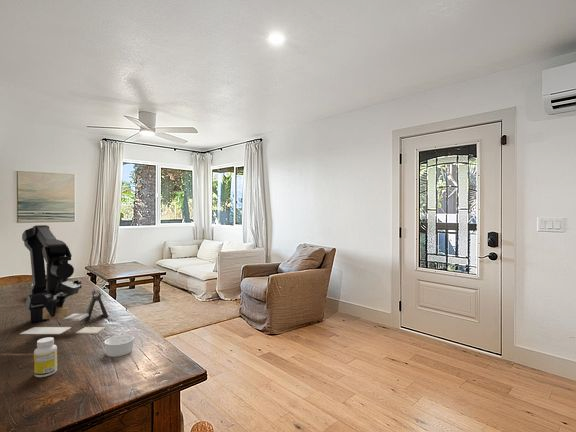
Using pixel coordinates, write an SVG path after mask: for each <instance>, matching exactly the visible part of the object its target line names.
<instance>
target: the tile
mask: <svg viewBox="0 0 576 432" xmlns="http://www.w3.org/2000/svg"><path fill="white" fill-rule="evenodd" d="M105 329H106V326H85V327H83V328H81V329H80V330H78V331H75V334H81V335H82V334H83V335H84V334H86V335H87V334H89V335H90V334H91V335H97V334H99V333H100V332H101V331H103V330H105Z"/></svg>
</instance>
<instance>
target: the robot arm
mask: <svg viewBox="0 0 576 432" xmlns="http://www.w3.org/2000/svg"><path fill="white" fill-rule="evenodd" d="M21 240H22V242H23V245H24V247H25V248H26V249H27V250H28V251H29V255H30V265H31V266H30V267H31V268H30V269H31V278H32V284H33V286H32V285H31V287H30V288H29V290H28V296H27V298H26V300H25V309H26V310H28V311H29V320H28V321H29V324H30V325H31V324H37V323H42V322H43V323H45V322H49V321H50V319H43V308H46V309H47V311H48V312H49V314H50V315H51V317H54V316H55V311H56V307H64V303H65V301H66V299H68V298H69V297H71V296H73V295H76V294H78V293H79V292H80V291H79V290H81V289H83V288H82V280H81V279H76V280H74V281H69V278H71V277H72V276H73V274H74V272H75V268H74V266H73V265H72V264H71V263H69V261H72V256H73V255H72V253H71V250H70V248H69V246H68V245H67V243H66V242H64V241H63V240H61V239H60V240H59V239H57V238H56V235H54V233H52V231H51V229H50V225H47V224H46V225H45V224H44V225H43V224H42V225H41V224H40V225H39V224H38V225H33V226H32V227H30V228H28V229H25V230H24V231H23V233H22V235H21ZM45 263H46V264H45ZM45 266H46V267H45Z"/></svg>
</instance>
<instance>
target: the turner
mask: <svg viewBox="0 0 576 432" xmlns="http://www.w3.org/2000/svg"><path fill="white" fill-rule="evenodd" d="M71 310H72V309H71V306H62V307H56V311H55V316H54V317H51V315H50V314H49V312H48V311H47V309H46V308H43V319H49V320H63V321H66V322H67V321H68V322H69V321H72V322H77V321H81V320H83V319H85V317H87V316H89V314H86V313H71V312H72V311H71Z"/></svg>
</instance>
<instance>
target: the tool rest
mask: <svg viewBox="0 0 576 432" xmlns="http://www.w3.org/2000/svg"><path fill="white" fill-rule="evenodd" d="M71 328H72V326H65V327H64V326H63V327H62V326H33V327H31V328H29V329H27V330H24V331H22V332H20V333H19V335H61V334H62V333H64V332H66V331H69V330H70V329H71Z"/></svg>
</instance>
